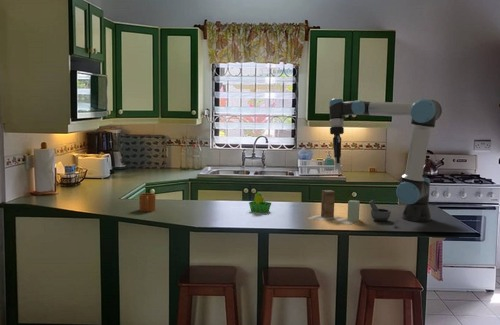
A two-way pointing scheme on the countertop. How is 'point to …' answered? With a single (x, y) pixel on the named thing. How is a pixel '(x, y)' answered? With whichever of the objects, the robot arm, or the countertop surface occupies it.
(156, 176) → the countertop surface
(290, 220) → the countertop surface
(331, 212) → the walnut block
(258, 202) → the fruit basket
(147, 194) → the mug
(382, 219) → the mortar and pestle
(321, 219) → the maple board
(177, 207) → the countertop surface
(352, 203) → the sage-green block
